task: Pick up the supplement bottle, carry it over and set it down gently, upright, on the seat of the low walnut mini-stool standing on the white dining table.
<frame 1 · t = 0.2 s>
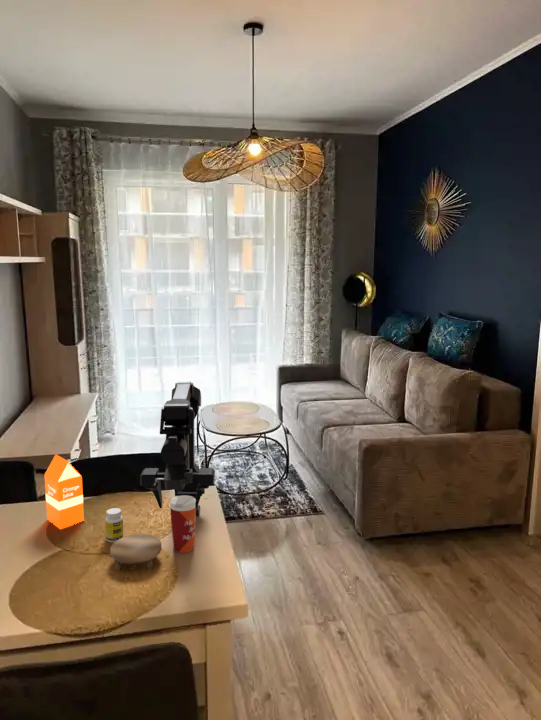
hand: (178, 507, 145), 14 cm above the table, fingers open, 9 cm apart
stool: (136, 560, 146), on the table
supplement bottle: (114, 539, 157), on the table
paper cup: (184, 548, 153), on the table
orange juice: (65, 521, 168), on the table
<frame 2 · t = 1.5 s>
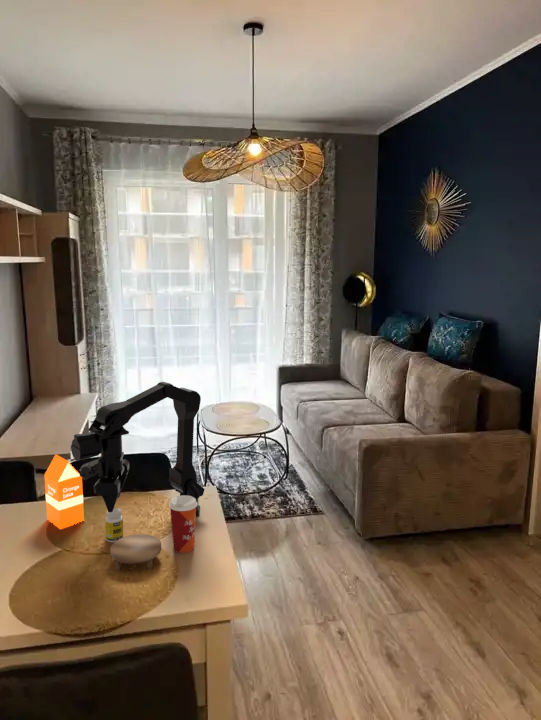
hand: (113, 504, 155), 10 cm above the table, fingers open, 9 cm apart
nothing on the table moved.
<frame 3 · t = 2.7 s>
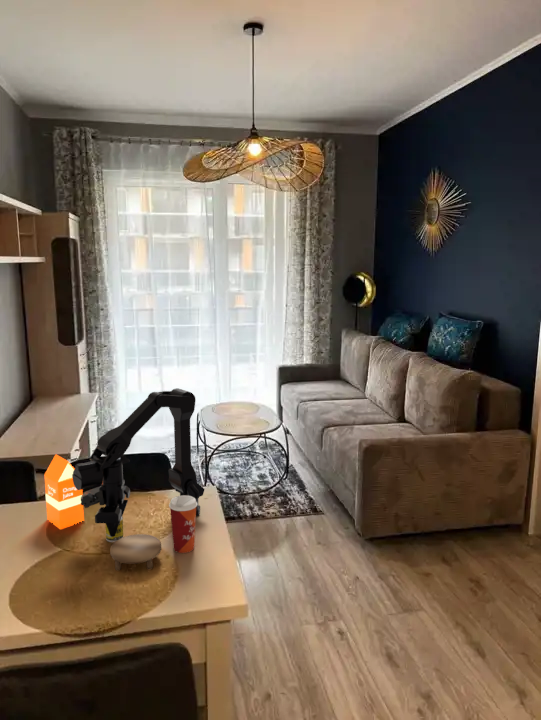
hand: (114, 531, 157), 2 cm above the table, fingers closed on supplement bottle, 5 cm apart
supplement bottle: (114, 539, 157), on the table, touching gripper
everything else where it was.
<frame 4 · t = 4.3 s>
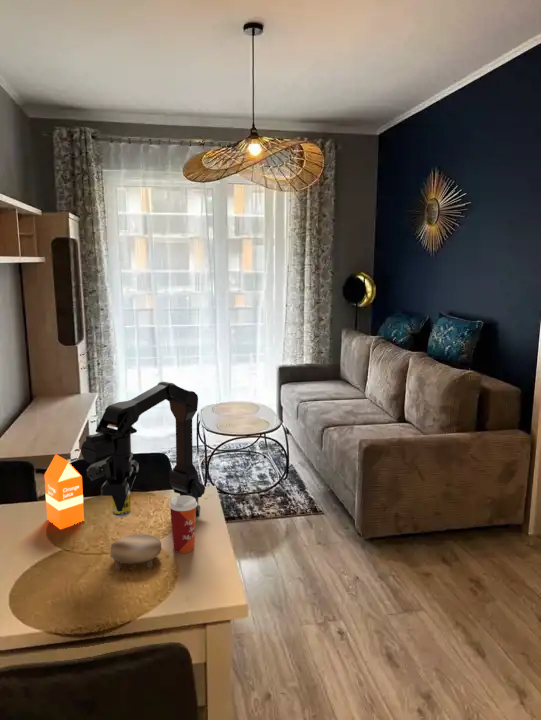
hand: (121, 506, 150), 12 cm above the table, fingers closed on supplement bottle, 5 cm apart
supplement bottle: (121, 514, 150), point 10 cm above the table, touching gripper
everything else where it was.
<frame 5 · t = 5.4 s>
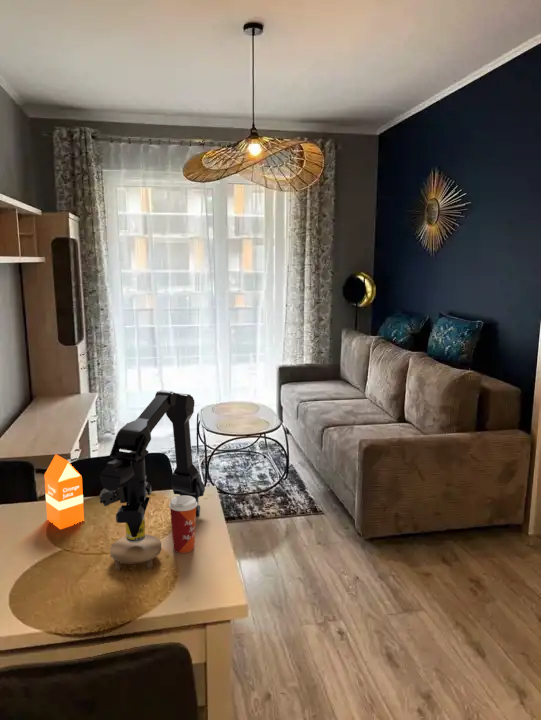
hand: (135, 531, 145), 8 cm above the table, fingers closed on supplement bottle, 5 cm apart
supplement bottle: (135, 539, 145), point 6 cm above the table, touching gripper
everything else where it was.
when the fingers open (7 cm above the table, at t = 5.8 s): supplement bottle drops 1 cm, resting on stool.
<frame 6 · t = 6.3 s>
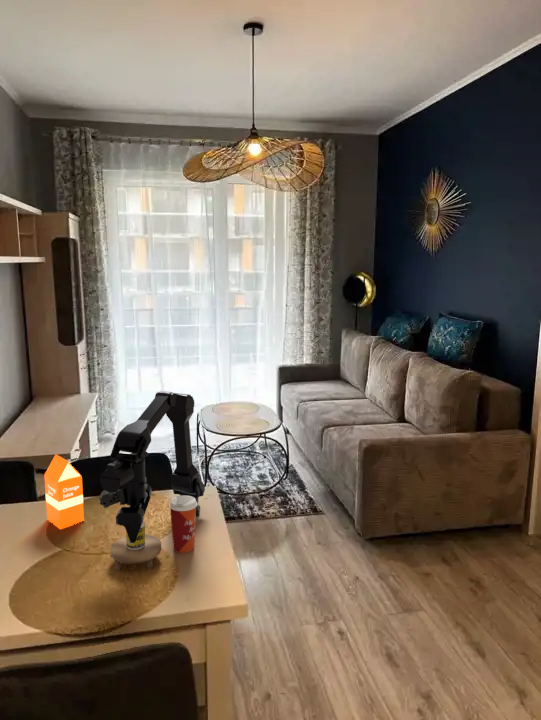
hand: (135, 533, 145), 7 cm above the table, fingers open, 9 cm apart
supplement bottle: (136, 546, 145), point 4 cm above the table, touching stool
everything else where it was.
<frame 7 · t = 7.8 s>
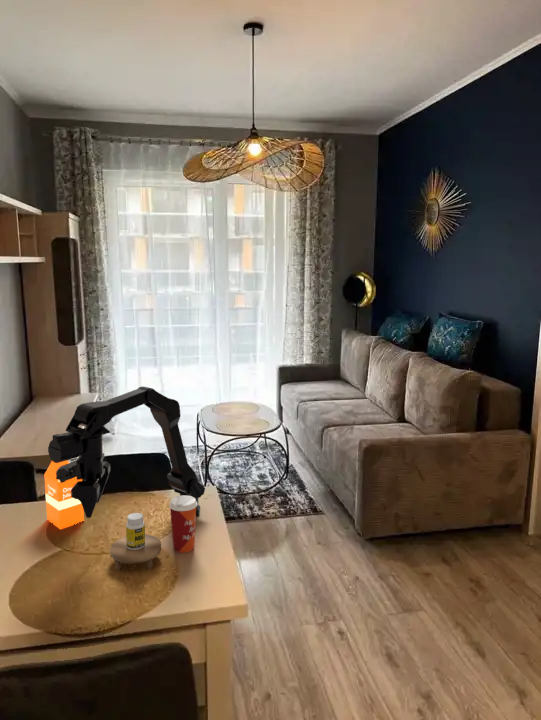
hand: (92, 509, 145), 13 cm above the table, fingers open, 9 cm apart
nothing on the table moved.
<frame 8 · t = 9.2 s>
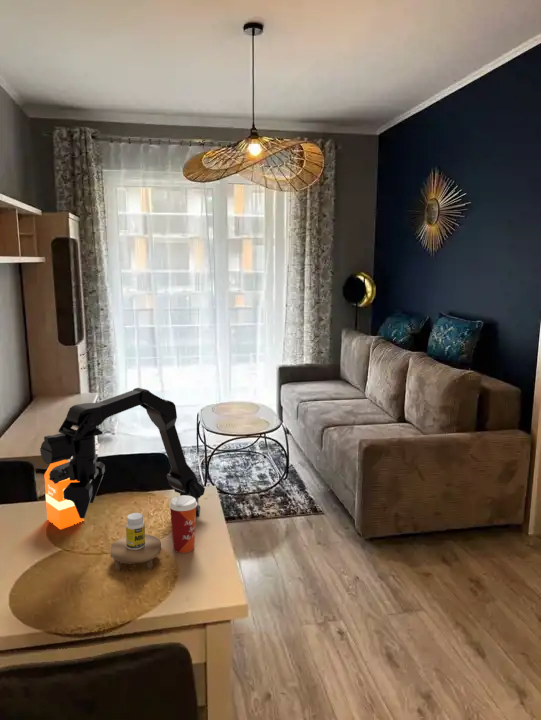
hand: (86, 510, 146), 13 cm above the table, fingers open, 9 cm apart
nothing on the table moved.
at the end: supplement bottle inside the target area on the stool (0.1 cm from its centre), point 3.8 cm above the stool's base; supplement bottle tilted 0°; the gripper is holding nothing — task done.
